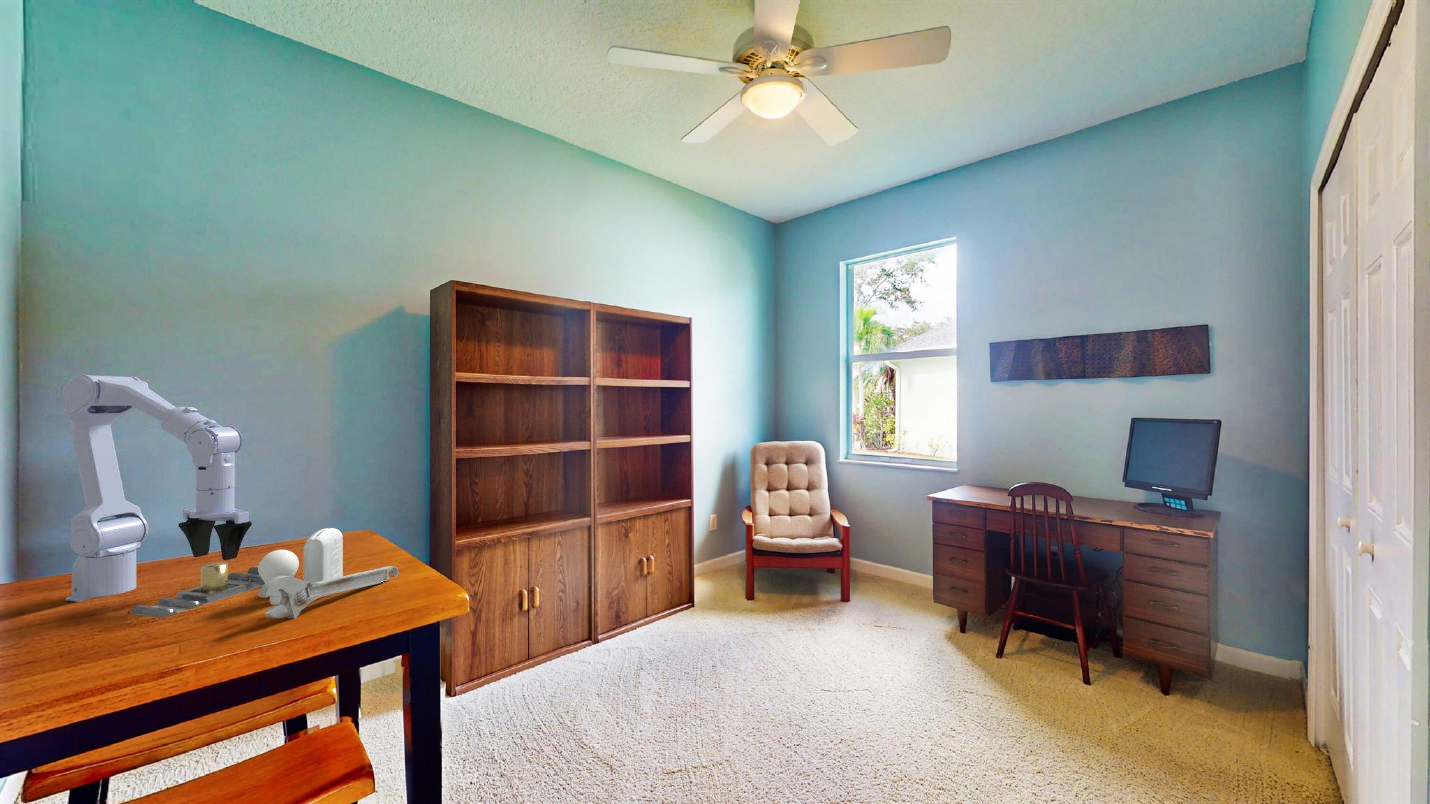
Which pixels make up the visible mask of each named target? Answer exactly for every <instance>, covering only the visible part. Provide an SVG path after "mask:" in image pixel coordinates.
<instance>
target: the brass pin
mask: <svg viewBox="0 0 1430 804" xmlns="http://www.w3.org/2000/svg"><path fill="white" fill-rule="evenodd" d="M228 575H229V562H226V561H220V562H212V563H211V562H210V563H206V564H204V565H201V566H200V586H201V593H205V594H212V593H216V592H219V591H222V590H226V589H228Z"/></svg>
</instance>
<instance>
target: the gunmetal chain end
mask: <svg viewBox="0 0 1430 804" xmlns="http://www.w3.org/2000/svg"><path fill="white" fill-rule="evenodd" d="M264 584H265V582H264V581H263V580H262V578H261V577H260V575H259V572H258V566H251V567H250V568H249V569H248V571H247V572H245V573H244V572H243V573H242V572H231V573H228V589H226V590H222V591H219V592H216V593H212V594H205V593H201V585H200V586H197V587H196V586H195V587H194V588H193V587H192V588H189V589H185V590H182V591H179V592H176V599H180V600H187V601H195V602H203V603H208V604H210V602H211V603H214V602H217V601H221V600H223V598H224V599H226V597H227V598H230V597H234V596H236V594H237V595H239V593H240V594H242V592H243V593H246V592H249V591H252V590H256V589H260V588H262V586H263V585H264ZM245 591H246V592H245ZM229 596H230V597H229ZM220 599H221V600H220ZM216 600H217V601H216ZM213 601H214V602H213Z"/></svg>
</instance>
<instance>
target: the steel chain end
mask: <svg viewBox="0 0 1430 804" xmlns="http://www.w3.org/2000/svg"><path fill="white" fill-rule="evenodd" d="M246 592H247V591H245V592H242V593H246ZM242 593H239V594H242ZM239 594H236V595H239ZM236 595H235V596H236ZM230 597H231V596H229V597H226V598H227V599H228V598H230ZM226 598H223V599H226ZM223 599H220V600H219V601H221V600H223ZM217 601H218V600H216V601H213V602H210V603H214V602H217ZM210 603H203V602H195V601H187V600H180V599H177V598H171V597H162V598H161V599H159V600H158V602H157V604H155V605H153V606H149V605H142V604H140V605H139V604H137V605H135V606H133V607H132V608H131V610H130V614H134V615H141V616H145V617H146V616H147V617H154V618H161V619H162V618H168V617H169V616H174V615H177V614H178V613H183V612H186V611H188V610H192V609H195V608H199V607H202V606H204V605H208V604H210Z"/></svg>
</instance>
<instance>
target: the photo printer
mask: <svg viewBox="0 0 1430 804" xmlns="http://www.w3.org/2000/svg"><path fill="white" fill-rule="evenodd" d="M343 538H344V535H343V534H342V532H341V531H340V530H339V529H337V528H335V527H332V528H331V527H329V528H328V527H327V528H322V529H319V530H317V531H316V532H315V533H313V534H312V535H311V536H310V537H308V539H307V540H306V542H305V543H304V545H303V569H302V570H303V571H302V575H303V576H302V577H303V578H302V579H303V581H307V582H313V583H315V582H320V581H324V580H329V579H333V578H337V577H342V576H344V575H343V574H344V573H343V572H344V571H343V568H344V567H343V565H344V563H343V561H344V559H343V558H344V556H343V553H344V552H343V551H344V549H343V548H344V547H343V546H344V545H343V543H344V539H343Z"/></svg>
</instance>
